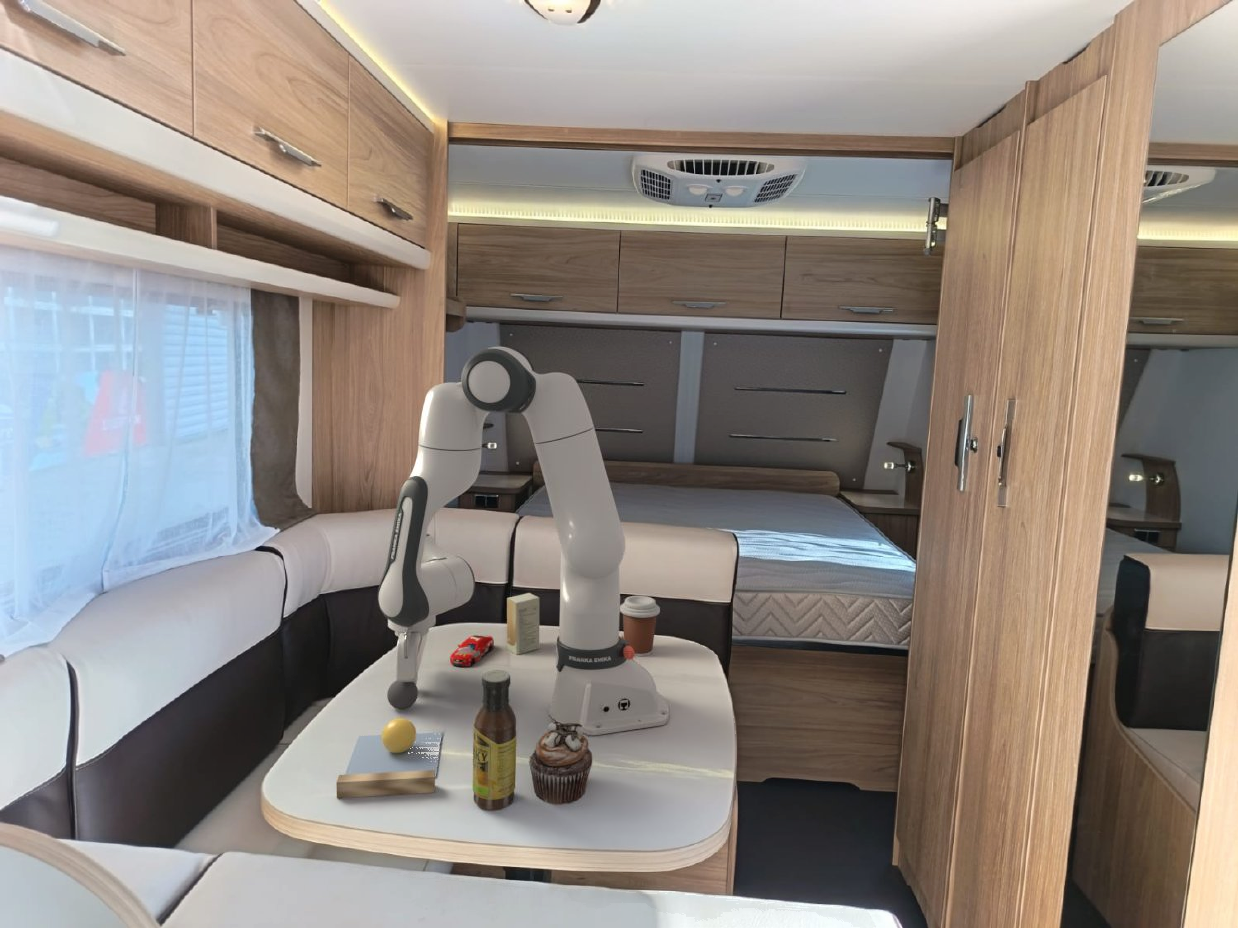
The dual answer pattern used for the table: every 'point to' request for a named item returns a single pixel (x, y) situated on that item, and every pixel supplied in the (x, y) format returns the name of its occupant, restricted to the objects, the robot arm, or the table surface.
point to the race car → (472, 650)
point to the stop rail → (385, 783)
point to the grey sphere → (402, 694)
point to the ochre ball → (398, 735)
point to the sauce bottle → (494, 744)
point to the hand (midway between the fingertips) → (412, 684)
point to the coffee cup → (639, 623)
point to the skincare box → (522, 623)
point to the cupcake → (561, 764)
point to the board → (392, 756)
